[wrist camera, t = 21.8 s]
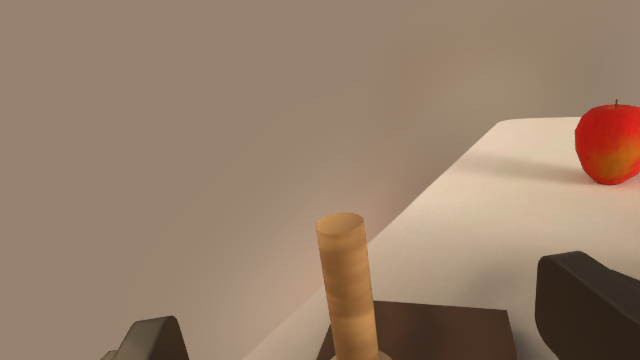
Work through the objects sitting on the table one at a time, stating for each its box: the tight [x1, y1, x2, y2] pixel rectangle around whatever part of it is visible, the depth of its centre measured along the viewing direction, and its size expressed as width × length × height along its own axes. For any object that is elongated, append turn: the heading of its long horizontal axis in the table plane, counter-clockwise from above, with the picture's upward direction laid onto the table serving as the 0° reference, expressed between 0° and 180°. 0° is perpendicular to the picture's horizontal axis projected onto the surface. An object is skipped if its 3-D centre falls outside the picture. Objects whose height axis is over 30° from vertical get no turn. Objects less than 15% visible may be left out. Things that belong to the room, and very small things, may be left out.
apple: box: [575, 99, 640, 185], centre depth 54 cm, size 9×9×12 cm
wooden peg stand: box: [316, 213, 392, 360], centre depth 22 cm, size 5×5×13 cm
